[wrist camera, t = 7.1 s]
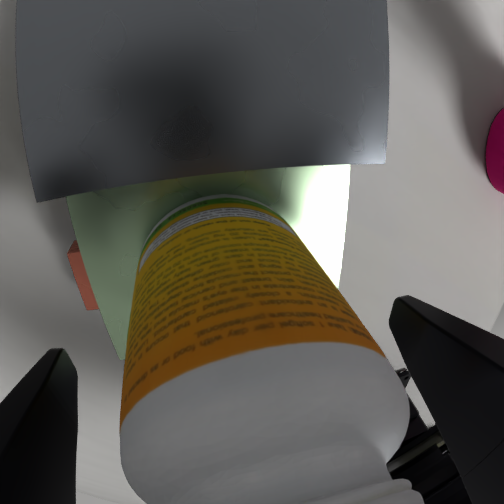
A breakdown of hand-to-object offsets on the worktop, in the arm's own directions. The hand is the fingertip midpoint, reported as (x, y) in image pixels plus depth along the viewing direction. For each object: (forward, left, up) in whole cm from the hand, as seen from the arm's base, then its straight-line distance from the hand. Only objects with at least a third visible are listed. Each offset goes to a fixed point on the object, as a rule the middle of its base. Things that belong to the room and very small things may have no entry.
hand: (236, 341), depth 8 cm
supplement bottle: (0, 0, -4) cm, 4 cm away
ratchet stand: (0, 0, -8) cm, 8 cm away
